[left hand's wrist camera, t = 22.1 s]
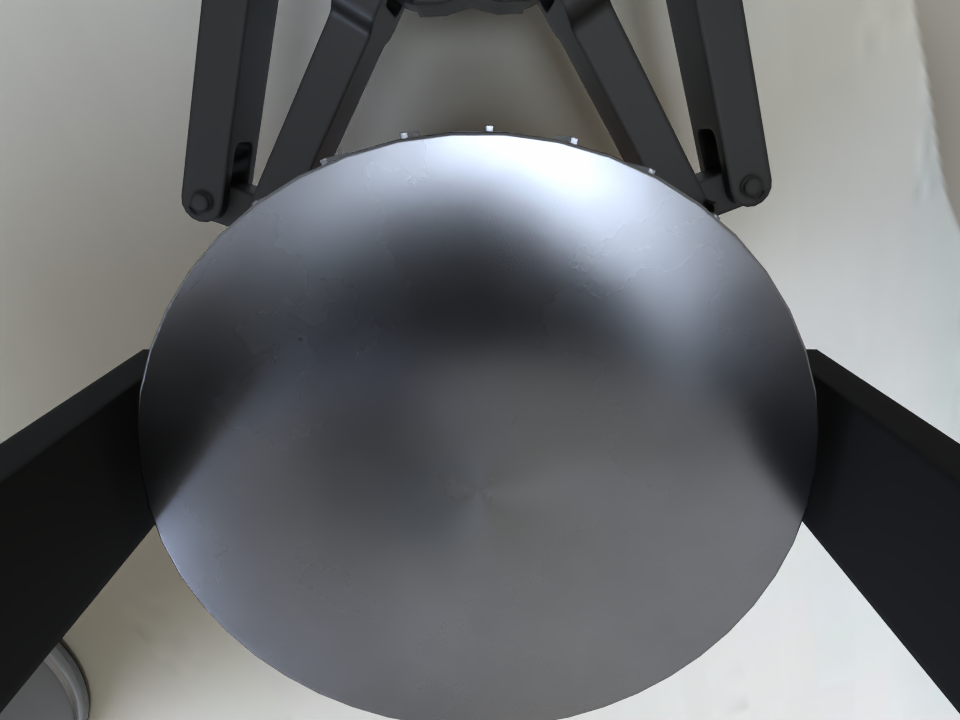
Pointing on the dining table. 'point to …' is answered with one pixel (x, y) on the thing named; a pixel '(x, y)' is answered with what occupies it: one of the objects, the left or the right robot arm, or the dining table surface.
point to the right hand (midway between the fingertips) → (482, 412)
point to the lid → (477, 428)
